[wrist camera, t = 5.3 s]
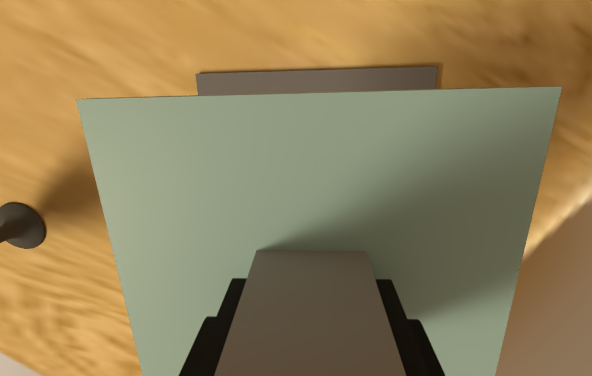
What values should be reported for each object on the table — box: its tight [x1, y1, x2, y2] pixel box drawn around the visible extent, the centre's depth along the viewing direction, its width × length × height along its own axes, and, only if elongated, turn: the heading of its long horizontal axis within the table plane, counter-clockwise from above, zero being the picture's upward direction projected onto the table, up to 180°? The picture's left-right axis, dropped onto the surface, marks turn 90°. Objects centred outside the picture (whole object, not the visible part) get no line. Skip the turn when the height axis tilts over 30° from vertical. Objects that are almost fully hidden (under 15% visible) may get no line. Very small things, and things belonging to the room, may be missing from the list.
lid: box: [76, 86, 562, 376], centre depth 9 cm, size 15×15×8 cm
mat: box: [196, 66, 438, 95], centre depth 27 cm, size 19×19×1 cm
